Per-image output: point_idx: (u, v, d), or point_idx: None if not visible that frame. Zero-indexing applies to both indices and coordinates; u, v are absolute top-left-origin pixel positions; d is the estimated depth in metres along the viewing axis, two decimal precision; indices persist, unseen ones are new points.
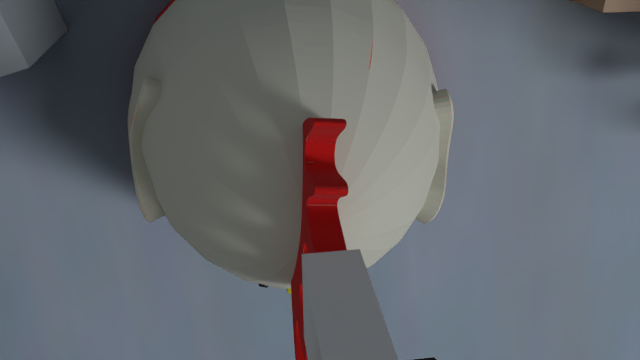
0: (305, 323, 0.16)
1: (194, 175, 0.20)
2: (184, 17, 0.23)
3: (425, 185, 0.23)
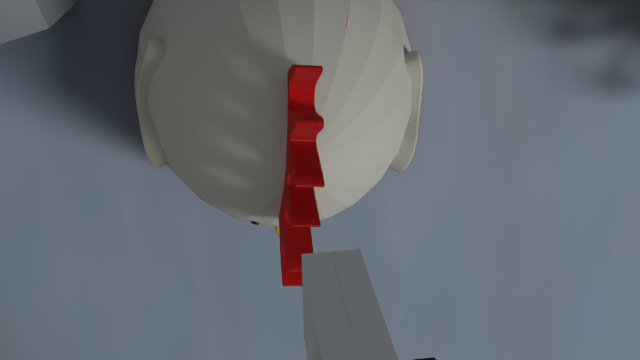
0: (305, 323, 0.16)
1: (194, 120, 0.23)
2: None
3: (396, 133, 0.26)
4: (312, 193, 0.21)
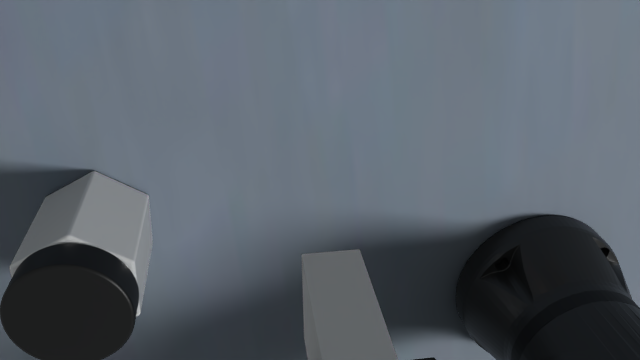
0: (305, 323, 0.16)
1: None
2: None
3: None
4: None
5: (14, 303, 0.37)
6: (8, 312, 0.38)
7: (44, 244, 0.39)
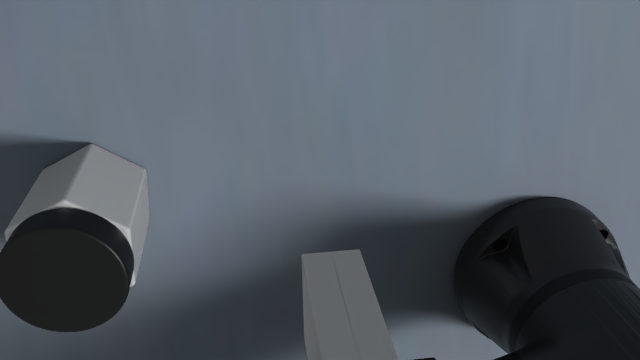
0: (305, 323, 0.16)
1: None
2: None
3: None
4: None
5: (8, 266, 0.37)
6: (2, 275, 0.38)
7: (39, 209, 0.39)
